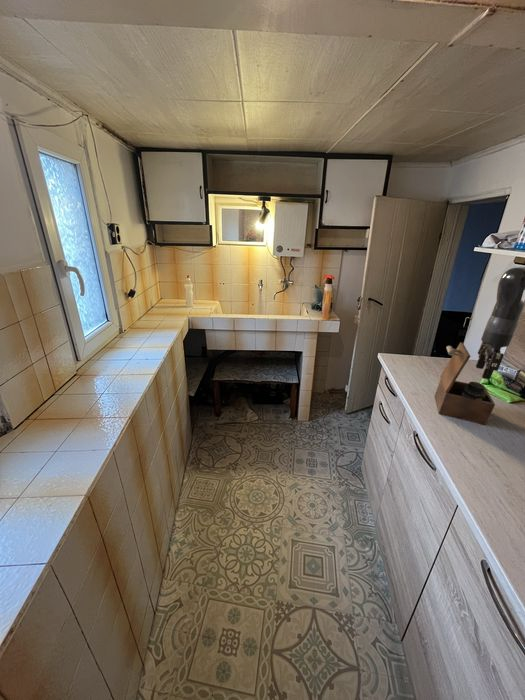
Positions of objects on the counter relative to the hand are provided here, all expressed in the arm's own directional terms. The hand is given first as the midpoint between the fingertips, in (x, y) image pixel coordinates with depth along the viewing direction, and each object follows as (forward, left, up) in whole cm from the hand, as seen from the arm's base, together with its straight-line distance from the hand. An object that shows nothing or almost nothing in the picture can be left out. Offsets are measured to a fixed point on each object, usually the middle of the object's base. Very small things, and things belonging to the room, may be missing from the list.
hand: (482, 373), depth 99 cm
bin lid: (+8, 0, 0) cm, 8 cm away
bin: (+3, 0, -17) cm, 17 cm away
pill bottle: (0, 0, -16) cm, 16 cm away
